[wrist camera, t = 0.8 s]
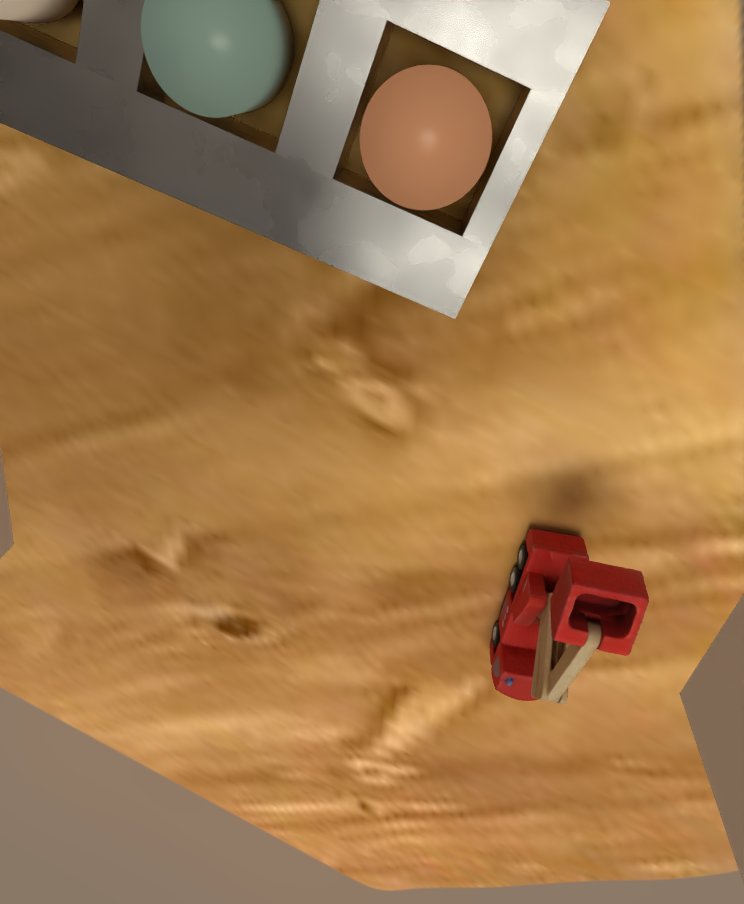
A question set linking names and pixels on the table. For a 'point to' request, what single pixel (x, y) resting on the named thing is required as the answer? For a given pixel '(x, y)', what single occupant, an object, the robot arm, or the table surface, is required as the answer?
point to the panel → (306, 128)
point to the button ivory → (35, 10)
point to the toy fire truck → (561, 616)
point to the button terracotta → (425, 137)
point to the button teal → (218, 52)
